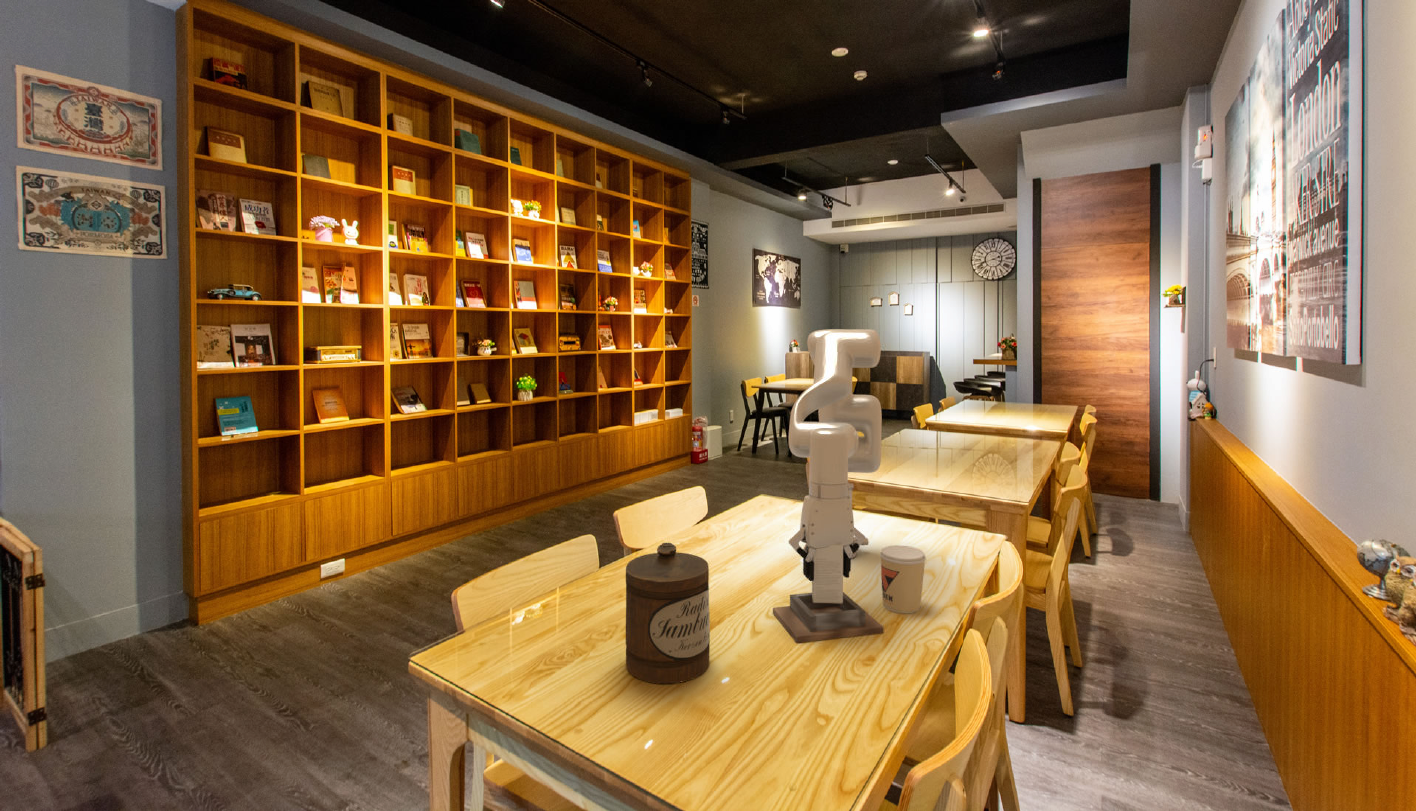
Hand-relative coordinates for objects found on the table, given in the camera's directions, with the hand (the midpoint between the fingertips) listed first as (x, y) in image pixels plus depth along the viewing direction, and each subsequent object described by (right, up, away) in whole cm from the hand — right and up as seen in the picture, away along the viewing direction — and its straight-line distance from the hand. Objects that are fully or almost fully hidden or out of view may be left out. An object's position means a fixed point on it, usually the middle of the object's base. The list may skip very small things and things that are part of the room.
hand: (826, 576), depth 135 cm
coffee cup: (+18, -9, +9) cm, 22 cm away
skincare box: (0, -5, 0) cm, 5 cm away
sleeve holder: (0, -10, +1) cm, 10 cm away
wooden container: (-31, -12, -15) cm, 37 cm away
